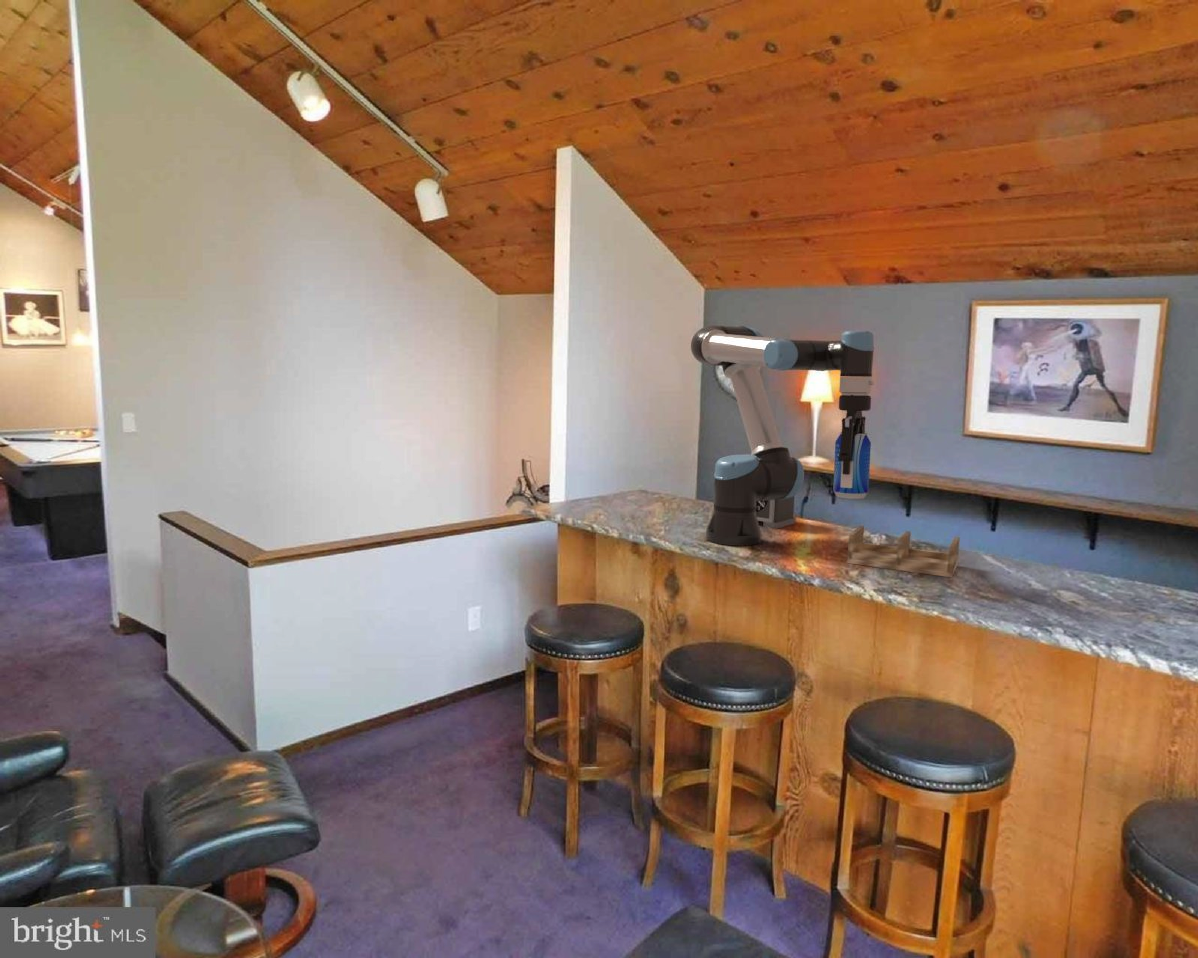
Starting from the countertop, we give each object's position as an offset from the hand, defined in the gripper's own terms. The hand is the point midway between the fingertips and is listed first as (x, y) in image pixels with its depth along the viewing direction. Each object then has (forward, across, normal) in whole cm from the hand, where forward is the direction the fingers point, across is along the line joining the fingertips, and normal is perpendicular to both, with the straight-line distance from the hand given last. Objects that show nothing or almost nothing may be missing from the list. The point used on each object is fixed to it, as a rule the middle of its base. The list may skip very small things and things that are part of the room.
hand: (851, 485), depth 200 cm
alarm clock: (+18, +34, +36) cm, 52 cm away
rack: (+19, +4, -12) cm, 23 cm away
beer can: (+3, 0, 0) cm, 3 cm away
